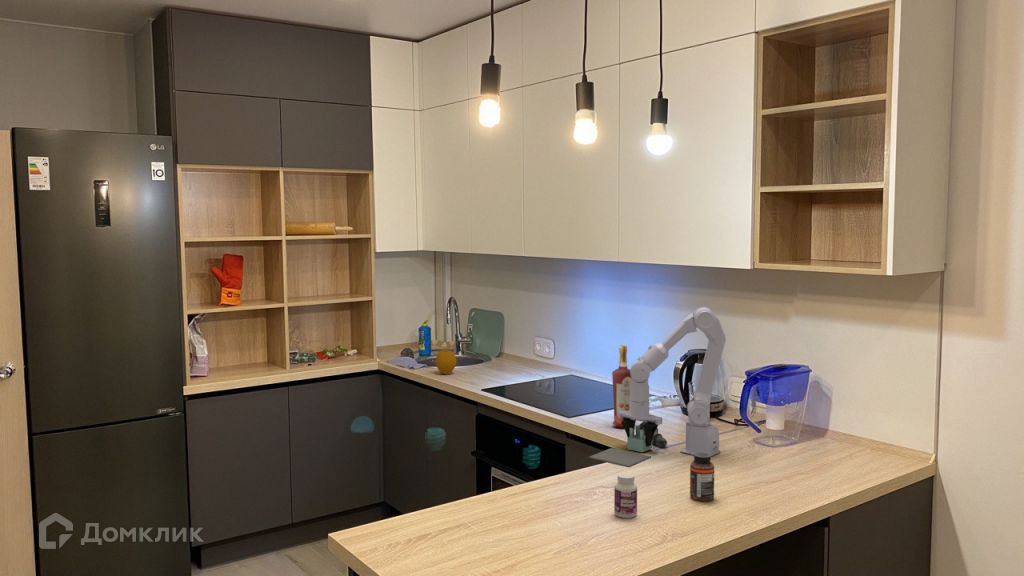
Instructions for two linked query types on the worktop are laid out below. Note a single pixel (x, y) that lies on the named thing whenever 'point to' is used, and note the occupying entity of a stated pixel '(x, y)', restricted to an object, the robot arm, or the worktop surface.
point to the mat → (620, 457)
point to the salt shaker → (655, 436)
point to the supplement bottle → (702, 478)
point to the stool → (637, 440)
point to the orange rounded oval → (445, 361)
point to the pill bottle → (625, 496)
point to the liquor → (621, 387)
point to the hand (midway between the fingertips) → (639, 444)
